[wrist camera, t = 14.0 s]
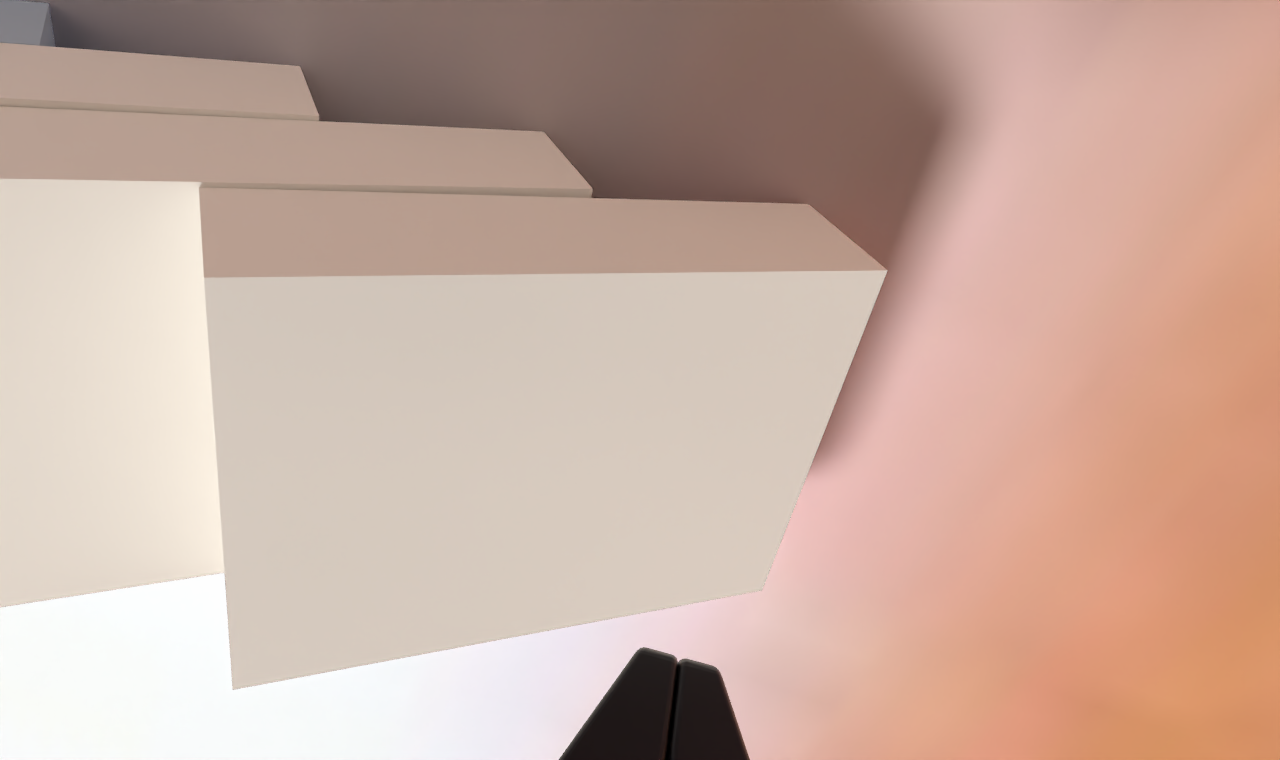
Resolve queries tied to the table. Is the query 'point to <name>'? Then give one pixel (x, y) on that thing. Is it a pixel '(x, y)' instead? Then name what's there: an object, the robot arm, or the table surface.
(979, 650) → the table surface
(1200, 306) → the table surface
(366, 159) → the tile
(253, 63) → the tile
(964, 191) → the table surface
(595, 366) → the tile
